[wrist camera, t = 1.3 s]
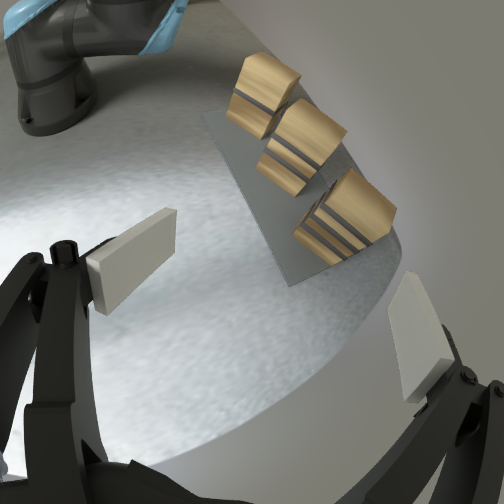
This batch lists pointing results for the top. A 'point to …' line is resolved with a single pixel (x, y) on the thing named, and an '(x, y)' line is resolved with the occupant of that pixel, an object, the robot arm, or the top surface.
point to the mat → (269, 196)
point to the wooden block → (299, 146)
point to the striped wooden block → (345, 219)
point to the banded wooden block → (261, 93)
